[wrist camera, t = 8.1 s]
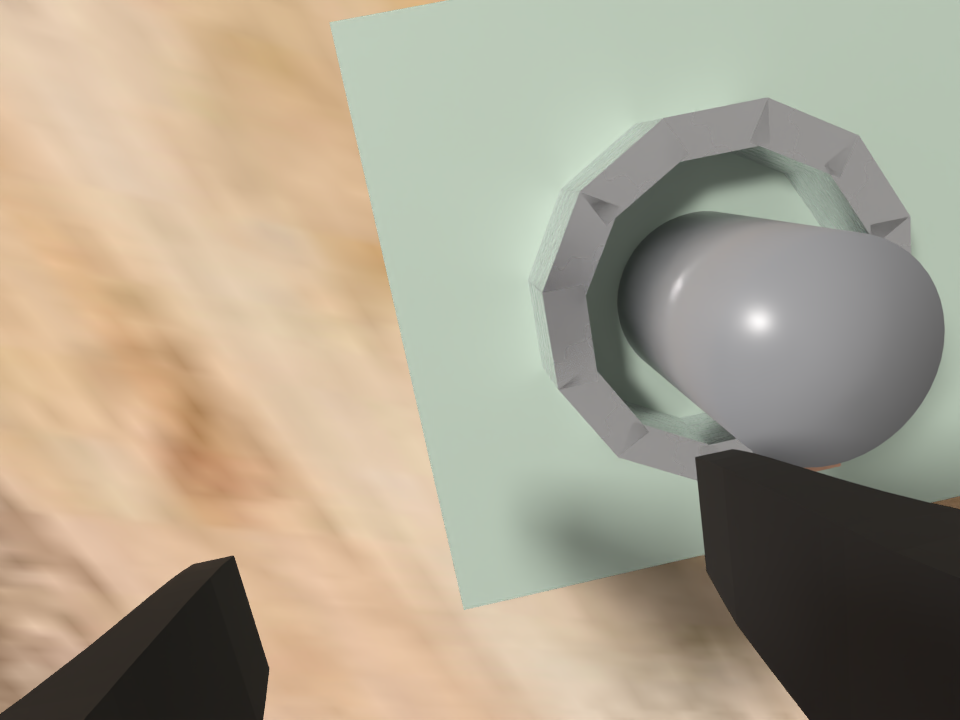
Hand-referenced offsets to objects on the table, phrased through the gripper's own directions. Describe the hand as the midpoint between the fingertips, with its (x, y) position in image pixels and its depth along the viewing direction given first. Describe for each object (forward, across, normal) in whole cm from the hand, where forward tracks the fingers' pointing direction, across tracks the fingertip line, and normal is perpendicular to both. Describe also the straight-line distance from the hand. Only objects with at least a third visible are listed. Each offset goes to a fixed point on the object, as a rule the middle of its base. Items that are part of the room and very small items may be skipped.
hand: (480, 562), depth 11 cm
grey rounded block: (+8, -7, -1) cm, 11 cm away
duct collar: (+9, -7, -2) cm, 12 cm away
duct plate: (+9, -7, -2) cm, 12 cm away
